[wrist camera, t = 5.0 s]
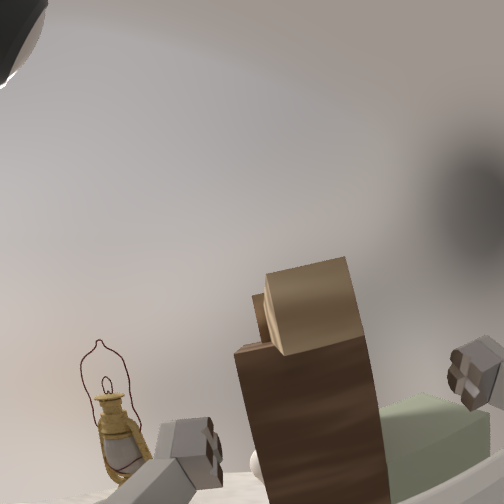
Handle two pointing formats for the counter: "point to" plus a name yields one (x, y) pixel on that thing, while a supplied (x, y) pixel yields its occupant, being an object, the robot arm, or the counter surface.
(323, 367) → the walnut shelf
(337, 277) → the beech mallet
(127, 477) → the lantern
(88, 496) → the counter surface
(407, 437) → the sage step
